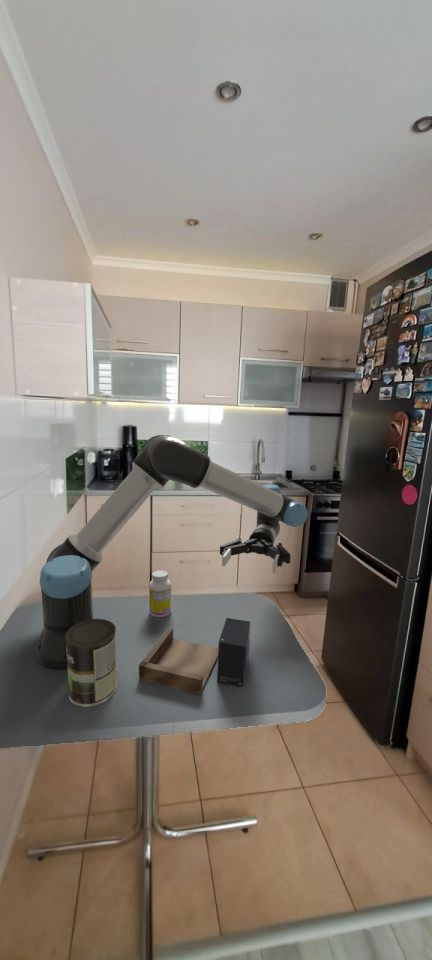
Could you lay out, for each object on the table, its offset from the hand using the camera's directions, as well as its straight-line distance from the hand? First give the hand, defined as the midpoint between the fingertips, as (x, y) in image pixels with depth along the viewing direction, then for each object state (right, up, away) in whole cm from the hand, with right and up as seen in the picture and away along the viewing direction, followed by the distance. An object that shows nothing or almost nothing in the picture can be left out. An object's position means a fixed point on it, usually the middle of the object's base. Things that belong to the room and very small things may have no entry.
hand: (248, 565), depth 96 cm
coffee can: (-36, -24, -15) cm, 46 cm away
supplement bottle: (-26, -19, +17) cm, 36 cm away
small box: (-4, -24, -8) cm, 25 cm away
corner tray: (-17, -23, -6) cm, 29 cm away
